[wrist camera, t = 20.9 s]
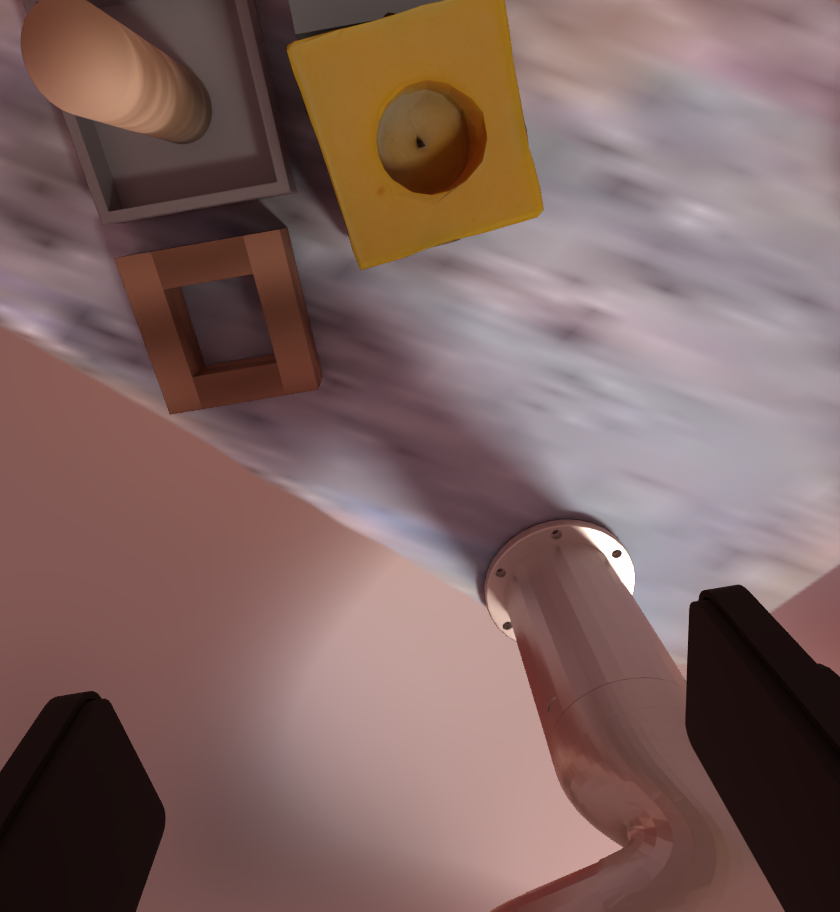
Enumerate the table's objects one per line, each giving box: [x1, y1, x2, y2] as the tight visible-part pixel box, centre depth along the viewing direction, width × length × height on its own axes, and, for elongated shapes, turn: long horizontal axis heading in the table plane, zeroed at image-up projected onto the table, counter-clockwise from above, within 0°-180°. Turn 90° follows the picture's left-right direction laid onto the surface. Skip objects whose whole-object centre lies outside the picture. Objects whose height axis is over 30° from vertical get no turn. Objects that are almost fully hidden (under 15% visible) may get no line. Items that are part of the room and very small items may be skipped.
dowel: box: [21, 0, 212, 144], centre depth 28 cm, size 4×4×12 cm
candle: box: [287, 0, 544, 270], centre depth 31 cm, size 10×10×10 cm
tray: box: [22, 0, 297, 225], centre depth 33 cm, size 11×11×3 cm
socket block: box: [114, 228, 322, 415], centre depth 38 cm, size 10×10×3 cm
